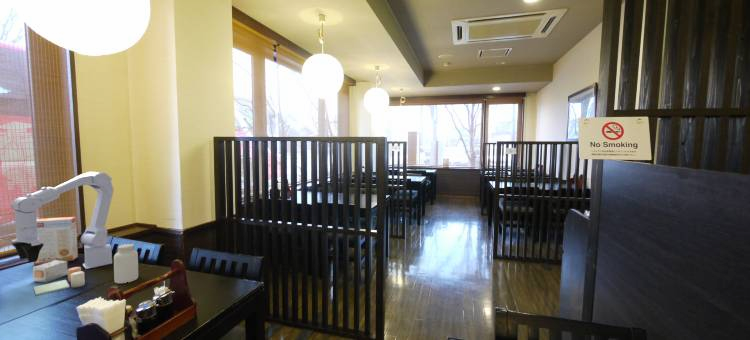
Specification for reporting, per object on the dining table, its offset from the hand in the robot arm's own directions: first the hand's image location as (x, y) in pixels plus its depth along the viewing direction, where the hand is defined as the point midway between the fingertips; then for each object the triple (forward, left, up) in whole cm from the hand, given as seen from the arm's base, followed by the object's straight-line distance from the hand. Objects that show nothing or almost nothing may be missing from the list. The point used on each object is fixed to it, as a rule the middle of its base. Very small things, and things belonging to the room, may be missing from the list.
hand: (28, 260), depth 124 cm
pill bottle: (-26, +23, -10) cm, 36 cm away
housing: (-6, -2, -10) cm, 12 cm away
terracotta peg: (-12, +8, -10) cm, 18 cm away
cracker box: (-10, -26, -10) cm, 29 cm away
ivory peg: (-12, +15, -10) cm, 22 cm away
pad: (-5, +11, -10) cm, 16 cm away
